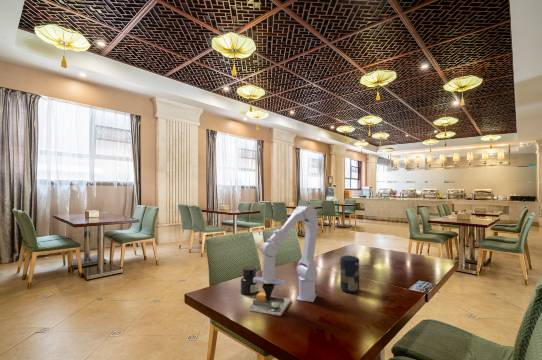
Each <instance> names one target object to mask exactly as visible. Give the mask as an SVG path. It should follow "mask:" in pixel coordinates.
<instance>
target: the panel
mask: <svg viewBox="0 0 542 360" xmlns="http://www.w3.org/2000/svg"><path fill="white" fill-rule="evenodd" d="M272 302H279V307H277V308H273V307H272V306H271V304H272ZM291 302H292V298H290V297H289V298H288V297H281V296H274V295H271V298H270V301H267V302H266V301H259V300H257V299H253V301H252V304H251V306H250V307H249V311H250V312H253V313H254V312H255V313H261V314H268V315H272V316H278V317H280V316H282V315H283V313H284V312H285V310H286V309H287V307H288V306H289V305H290V303H291Z"/></svg>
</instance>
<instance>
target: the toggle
mask: <svg viewBox="0 0 542 360" xmlns="http://www.w3.org/2000/svg"><path fill="white" fill-rule="evenodd" d="M256 300H259V301H266V302H267V297H266V294H265V292H264V291H262V292H261V291H260V292H257V293H256Z"/></svg>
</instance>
